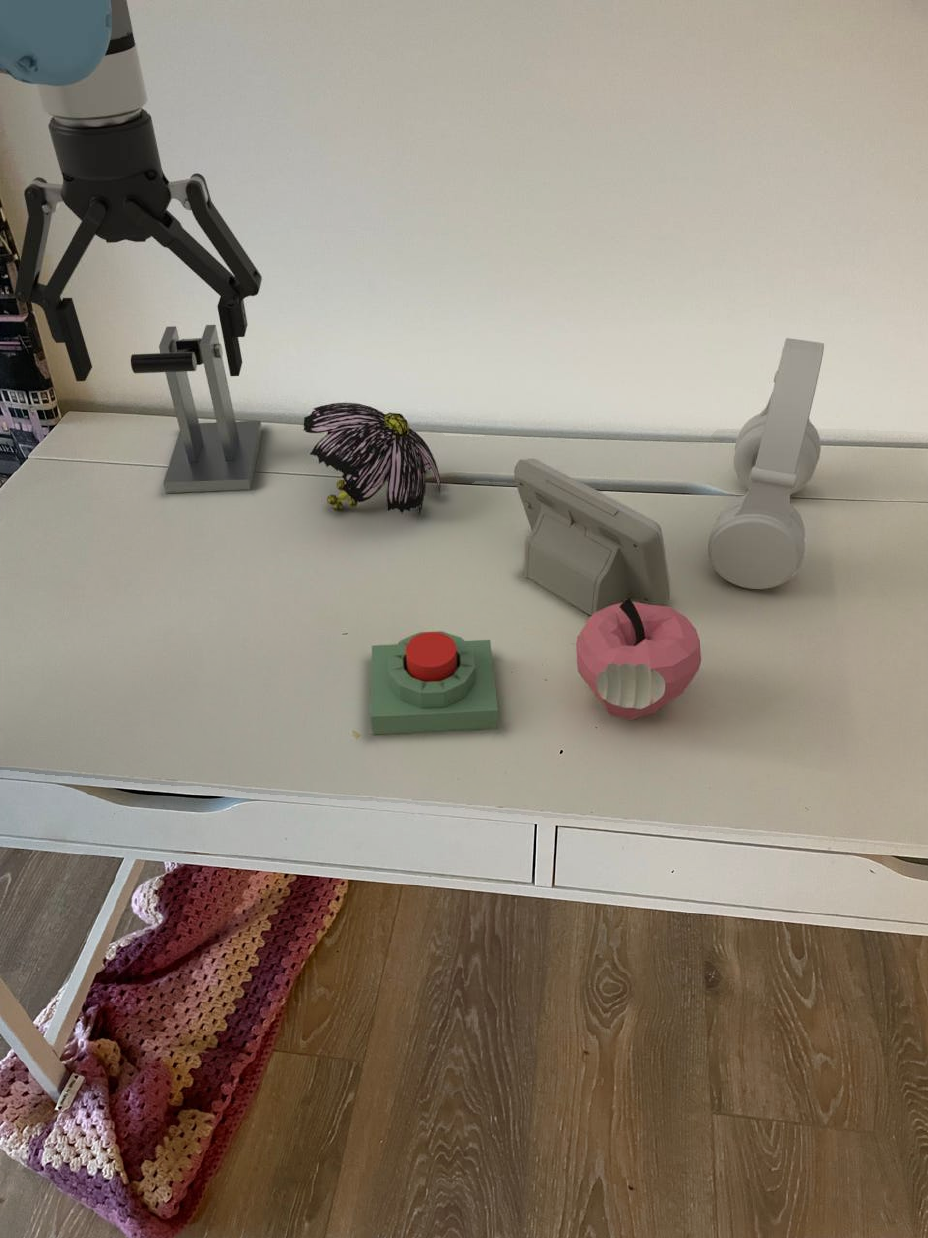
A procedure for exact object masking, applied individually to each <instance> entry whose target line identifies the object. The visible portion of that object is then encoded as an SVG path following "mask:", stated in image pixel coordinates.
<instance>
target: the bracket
mask: <svg viewBox="0 0 928 1238" xmlns="http://www.w3.org/2000/svg"><path fill="white" fill-rule="evenodd" d="M178 332H179V331H178V329H177V326H175V325H173V326H166V327H165V330H164V332H163V334H162V337H161V339H160V342H159V345H158V349H159V353H171V352H174V351H176V350H177V347H176V341H178V340H180V337H179V333H178ZM218 334H219V333H218V330H217V325H216V324H206V325H205V327H204V329H203V333H202V335H201V338H202V339H201V342H200V349H201V354H202V358H203V367H204V372H205V376H206V381H207V385H208V389H209V395H210V398H211V404H212V408H213V412H214V417H215V422H199V416H198V413H197V409H196V405H195V400H194V396H193V392H192V388H191V384H190V380H189V375H188V371H185V372H164V374H165V376H166V381H167V384H168V388H169V393H170V396H171V400H172V404H173V408H174V413H175V416H176V420H177V424H178V429H179V432H178V435H177V439H176V442H175V445H174V448H173V450H172V454H171V457H170V461H169V463H168V467H167V470H166V473H165V477H164V479H163V489H164V491H165V494H176V493H177V494H179V493H201V492H222V491H226V492H227V491H243V490H244V491H246V490H247V491H248V490H252V485H253V480H254V474H255V469H256V465H257V459H258V455H259V449H260V444H261V439H262V433H263V425H262V421H261V420H242V421H239V420H238V421H236V416H235V413H234V408H233V402H232V398H231V392H230V388H229V384H228V383H229V382H228V379H227V373H226V368H225V363H224V359H223V355H224V354H223V347H222V344H221V343H220V340H219V335H218Z"/></svg>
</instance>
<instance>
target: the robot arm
mask: <svg viewBox="0 0 928 1238" xmlns="http://www.w3.org/2000/svg"><path fill="white" fill-rule="evenodd" d="M133 31H134V30H133V25H132V21H131V16H130V10H129V5H128V0H0V74H4V75H9V76H11V78H12V79H14V80H16V81H19V82H22V83H26V84H30V85H36V86H37V90H38V94H39V97H40V102H41V105H42V108H43V111H44V112H45V113H47V114H48V115H49V116H51V119H50V120H49V123H48V124H47V126H48V130H49V134H50V137H51V141H52V144H53V145H52V146H53V148H54V152H55V156H56V160H57V163H58V167H59V170H60V173H61V175H62V184H60V183H49V182H47V180H46V179H44V178H43V177H41V176H38V177H35V178H33V179H32V181H31V182H30V183H29V184H28V186H27V187H26V188H24V191H23V195H24V200H25V205H26V210H27V215H28V216H27V217H28V219H27V222H26V228H25V234H24V240H23V245H22V250H21V256H20V260H19V265H18V272H17V278H16V284H15V287H14V298H15V299H16V301H17V302H19V303H21V304H27V303H32V304H35V305H37V306H39V307H40V308H41V309H42V310H43V313H44V316H45V319H46V322H47V326H48V329H49V331H50V335H51V338H52V339H53V341H54V342H55V343H56V344H64V346H65V348H66V352H67V354H68V358H69V361H70V364H71V367H72V371H73V375H74V377H75V381H76V382H86V380H87V379H88V377H89V375H90V372H91V370H92V368H93V365H92V361H91V357H90V354H89V351H88V348H87V343H86V340H85V338H84V334H83V331H82V328H81V323H80V320H79V318H78V317H79V316H78V314H77V311H76V307H75V304H74V300H73V297H62V298H61V296H62V294H63V292H64V291H65V289H66V287H67V285H68V284H69V282H70V280H71V279H72V276H73V275H74V273H75V271H76V269H77V267H79V264H80V262H81V261H82V258H83V257H84V255H85V253H86V252H87V250H88V249H89V246H90V245H91V242H92V241H93V239H94V238H95V236H96V237H98V238H100V239H101V240H103V241H106V243H107V244H109V243H110V244H111V243H112V244H113V243H120V242H121V241H125V240H126V241H130V242H134V243H145V242H146V241H147V240H148V239H150V238H152V239H154V240H155V241H156V242H157V243H158V244H159V245H161V246H162V247H164V248H165V249H168V250H170V252H171V253H172V254H173V255H175V256H176V257H177V258H178V259H179V260H180V261H181V262H183V264H185V265H186V266H187V267H188V268H189V269H190V270H191V271H192V272H194V273H195V274H196V275H197V276H198V277H199V278H200V279H201V280H202V281H203V282H205V284H207V285H208V286H209V287H210V288H211V289H212V290H213V291H214V292H215V293H216V294H218V296H220V297H219V300H218V302H217V306H216V307H217V312H218V318H219V323H220V328H221V334H222V338H223V339H222V340H223V344H224V349H225V355H226V360H227V365H228V370H229V376H230V377H239V376H240V372H241V369H242V365H243V357H242V352H241V347H240V340H239V338H245V336H246V334H247V333H246V332H247V329H248V319H247V313H246V307H245V300H244V299H246V298H248V297H255V296H257V295H258V294H259V293H260V290H261V289H260V288H261V284H262V281H263V278H262V274H261V273H260V272H259V270H258V268H257V267H256V266H255V264H254V262H253V261H252V260H251V258H250V256H249V255H248V254H247V252H246V251H245V249H244V248H243V246H242V245H241V243H240V242H239V240H238V239H237V236H235V234H234V233H233V232H232V230H231V228H230V227H229V225H228V224H227V222H226V221H225V220H224V218H223V216H222V215H221V214H220V212H219V210H218V209H217V207H216V206H215V205H214V203H213V201H212V198H211V195H210V191H209V188H208V184H207V181H206V179H205V177H204V175H202V174H201V173H198V172H197V173H193V174H192V175H191V176H190V178H187V179H181V180H174V181H169V179H168V178H167V176H166V175H165V173H164V171H163V167H162V163H161V158H160V157H161V156H160V153H159V147H158V143H157V139H156V134H155V128H154V123H153V119H152V116H151V115H150V113H148V112H147V110H145V109H144V107H145V105H146V104H147V102H148V100H149V99H148V96H147V91H146V85H145V81H144V77H143V71H142V67H141V66H142V65H141V62H140V57H139V53H138V52H139V51H138V48H137V47H138V46H137V43H136V41H135V36H134V32H133ZM172 199H175V200H177V201H179V202H180V204H181V205H182V207H183V208H184V209H185V210H188V211H191V212H192V215H193V217H194V219H195V221H196V222H197V224H198V226H199V227H200V228H201V230H202V231H203V233H204V234H205V236H206V237H207V239H208V240H209V241H210V243H211V244H212V246H213V247H214V249H215V251H216V252H217V253H218V254H219V256H220V258H221V259H222V260H223V262H224V263H225V265H226V266H227V267H228V269H229V270H228V269H227V267H225V266H224V265H223V264H222V263H221V262H220V261H219V260H217V258H216V257H214V256H213V255H212V253H210V252H209V251H208V250H207V249H206V248H205V247H204V246H203V245H202V244H201V243H200V242H198V240H196V239H195V238H194V237H193V236H192V235H191V234H190V233H189V232H188V231H187V230H186V229H185V228H183V226H182V223H181V222H180V221H179V220H178V219H177V218H176V217H175V216H174V215H173V214H172V213H171V212H170V211H169V210H168V207H169V205H170V204H171V202H172ZM61 202H63V203H64V204H65V206H66V207H67V208H68V209H69V210H70V211H71V212H72V213H73V214H74V216H76V217H77V218H78V219H79V220H80V221H81V222H80V224H79V225H78V227H77V229H76V231H75V233H74V234H73V237H72V238H71V241H70V242H69V245H68V246H67V248H66V250H65V251H64V253H63V255H62V257H61V259H60V260H59V262H58V264H57V266H56V267H55V269H54V271H53V273H52V275H51V277H50V278H49V280H48V282H47V283H46V284H44V283H40V278H41V272H42V267H43V262H44V258H45V254H46V253H45V252H46V247H47V242H48V237H49V232H50V226H51V221H52V218H53V217H52V216H53V214H54V213H55V212H56V211H57V210H58V209H59V206H60V203H61Z"/></svg>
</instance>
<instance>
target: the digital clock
mask: <svg viewBox="0 0 928 1238" xmlns="http://www.w3.org/2000/svg"><path fill="white" fill-rule="evenodd" d="M513 477H514V482H515V485H516V489H517V491H518V494H519V497H520V500H521V503H522V506H523V508H524V513H525V515H526V518H527V520H528V525H529V527H530V530H531V531H530V533H529V534H528V535H527V537H526V540H525V545H524V567H523V568H524V569H523V575H524V576H525V577H526V578H527V579H529V580H532V581H533V582H534V583H536V584H538V585H540V586H541V587H543V588H545V590H548V591H549V592H551V593H552V594H554V595H556V596H557V597H559V598H561V599H562V600H564V601H566V602H567V603H569V604H570V605H572V606H573V607H576V608H577V609H579V610H581V611H582V612H584V613H585V614H586V615H589V616H590V617H591V616H592V615H593V614H594V613H596V612H598V611H600V610H602V609H604V608H606V607H608V606H611V605H615V604H619V603H622V602H623V600H626V599H627V598H628V597H629V596H631V597H634V598H635V599H637V600H639V601H641V602H642V603H643V604H648V605H657V606H663V605H664V604H666V603H667V602H668V601H669V600H670V599H671V582H670V574H669V568H668V562H667V554H666V553H667V552H666V547H665V539H664V535H663V529H662V528H661V526H660V524H659V523H658V522H657V521H656V520H654V519H652V518H651V517H649V516H647V515H645V514H643V513H642V512H639V511H638V510H636V509H633V508H632V507H631V506H628V505H625V504H624V503H622V502H620V501H618V500H616V499H614V498H613V497H610V496H608V495H606V494H605V493H602V492H600V491H599V490H597V489H595V488H593V487H591V486H589V485H587V484H585V483H583V482H582V481H579V480H578V479H576V478H574V477H572V476H569V475H568V474H566V473H564V472H562V471H560V470H558V469H556V468H554V467H553V466H550V465H548V464H546V463H544V462H542V461H540V460H537V459H535V458H522V459H519V460H518V461H517V462H516V464H515V466H514V471H513Z"/></svg>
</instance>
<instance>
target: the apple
mask: <svg viewBox="0 0 928 1238" xmlns="http://www.w3.org/2000/svg"><path fill="white" fill-rule="evenodd" d="M575 647H576V666H577V672H578V673H579V675H580V677H581V678H582V679H583V681H584V682H585V684H586V685H587V686H588V687H589V688H590V690H591V691H592V692H593V693H594V695H595V696H596V697H597V698H598V700H599V701H600V703H601V704H602V705H603V707H604V708H605V710H606V712H607V713H608V715H610V716H612V717H613V716H614V717H616V718H620V719H624V720H629V721H631V720H633V719H636V718H640V717H642V716H649V715H653V714H654V713H656V712H657V711H659V710H660V709H661V708H662V707H665V705H667V704H669V703H671V702H673V701H675V700H676V699H677V698H678V697H680V696H681V695H682V694H684V692H685V691H686V690H687V689H688V687H689V686H690V684H691V682H693V680H694V678H695V677H696V675H697V673H698V672H699V670H700V666H701V664H702V652H701V651H702V650H701V641H700V637H699V634H698V631H697V629H696V627H695V626H694V625H693V623H692V622H691V621H690V620H689V618H688V617H687V616H686V615H684V614H682V613H680V612H679V611H676V610H675V609H673V608H672V607H670V606H666V605H658V606H657V605H648V604H646V603H644V602H637V601H632V599H631V598H630V597H626V598H625V599H624V601H621V602H619V603H618V604H615V605H611V606H608V607H606V608H604V609H602V610H600V611H598V612H596V613H594V614H593V615H592V616H590V617H589V619H588V620H587V622H586V623H585V625H584V626H583V628H582V629H581V631H580V632H579V634H578V635H577V637H576V643H575Z"/></svg>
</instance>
